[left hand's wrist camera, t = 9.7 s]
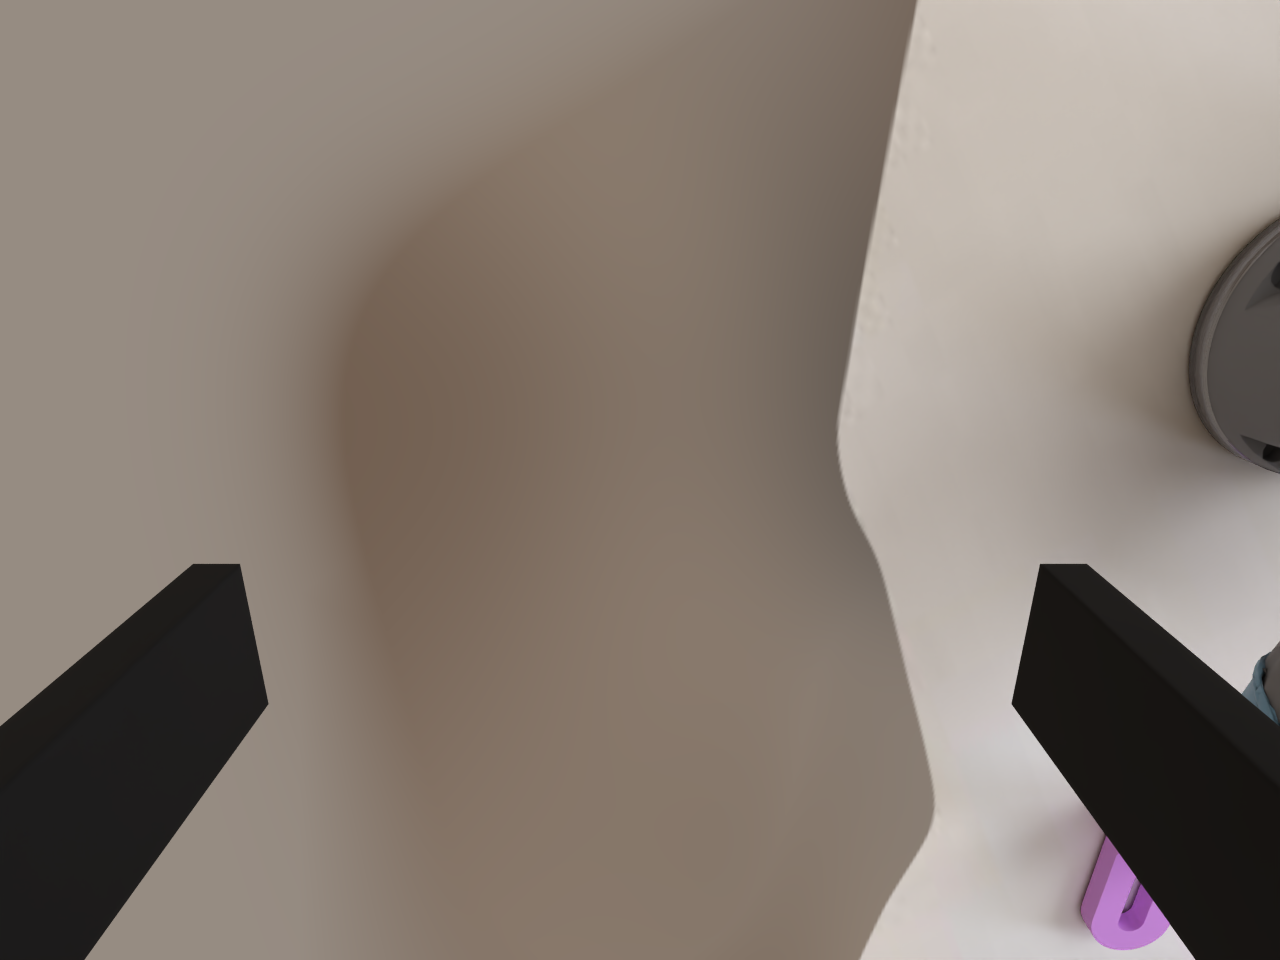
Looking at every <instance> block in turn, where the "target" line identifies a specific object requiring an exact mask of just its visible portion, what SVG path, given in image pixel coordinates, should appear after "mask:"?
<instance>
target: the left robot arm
mask: <svg viewBox="0 0 1280 960" xmlns="http://www.w3.org/2000/svg"><path fill="white" fill-rule="evenodd" d="M1189 377H1190V387H1191V393H1192V397H1193V401H1194V404H1195V407H1196V410H1197V412H1198V414H1199V417H1200V418H1201V420H1202V422H1203V424H1204V425H1205V427H1206V428H1207V430H1208V431H1209V432H1210V434H1211V435H1212V436H1213V437H1214V438H1215V439H1216V440H1217V441H1218V442H1219V443H1220V444H1221V445H1222V446H1224V447H1225V448H1226V449H1227V450H1229V451H1230V452H1232V453H1233V454H1235V455H1237V456H1238V457H1240V458H1243V459H1245V460H1247V461H1249V462H1252V463H1254V464H1256V465H1258V466H1260V467H1263V468H1265V469H1267V470H1270V471H1273V472H1276V473H1280V219H1279V220H1277V221H1276V222H1274V223H1273V224H1271V225H1270V226H1269V227H1268V228H1266V229H1265V230H1264V231H1263V232H1261V233H1260V234H1259V235H1258V236H1257V237H1256V238H1255V239H1254V240H1252V241H1251V242H1250V243H1249V244H1248V245H1247V246H1246V247H1245V248H1244V249H1243V250H1242V251H1241V253H1240V254H1239V255H1238V256H1237V257H1236V258H1235V259H1234V260H1233V262H1232V263H1231V264H1230V265H1229V267H1228V268H1227V269H1226V270H1225V272H1224V273H1223V275H1222V276H1221V278H1220V279H1219V281H1218V282H1217V284H1216V285H1215V287H1214V289H1213V290H1212V292H1211V294H1210V296H1209V297H1208V299H1207V301H1206V304H1205V306H1204V308H1203V310H1202V312H1201V315H1200V317H1199V320H1198V323H1197V326H1196V329H1195V333H1194V337H1193V340H1192V346H1191V352H1190V363H1189ZM267 705H268V699H267V694H266V689H265V685H264V680H263V675H262V670H261V665H260V660H259V655H258V650H257V646H256V641H255V636H254V631H253V626H252V621H251V616H250V611H249V606H248V602H247V597H246V592H245V587H244V582H243V577H242V572H241V567H240V564H193V565H191V566H190V567H189V568H188V569H187V570H185V571H184V572H183V573H182V574H181V575H180V576H178V577H177V578H176V579H175V580H174V581H172V582H171V583H170V584H169V585H168V586H166V587H165V588H164V589H163V590H162V591H161V592H159V593H158V594H157V595H156V596H155V597H153V598H152V599H151V600H150V601H149V602H147V603H146V604H145V605H144V606H143V607H142V608H140V609H139V610H138V611H137V612H136V613H134V614H133V615H132V616H131V617H130V618H128V619H127V620H126V621H125V622H124V623H122V624H121V625H120V626H119V627H118V628H117V629H115V630H114V631H113V632H112V633H111V634H109V635H108V636H107V637H106V638H105V639H103V640H102V641H101V642H100V643H99V644H98V645H96V646H95V647H94V648H93V649H92V650H90V651H89V652H88V653H87V654H86V655H84V656H83V657H82V658H81V659H80V660H79V661H77V662H76V663H75V664H74V665H73V666H71V667H70V668H69V669H68V670H67V671H65V672H64V673H63V674H62V675H61V676H59V677H58V678H57V679H56V680H55V681H54V682H52V683H51V684H50V685H49V686H48V687H46V688H45V689H44V690H43V691H42V692H40V693H39V694H38V695H37V696H36V697H35V698H33V699H32V700H31V701H30V702H29V703H27V704H26V705H25V706H24V707H23V708H21V709H20V710H19V711H18V712H17V713H16V714H14V715H13V716H12V717H11V718H10V719H8V720H7V721H6V722H5V723H4V724H3V725H1V726H0V960H85V958H86V957H87V955H88V954H89V953H90V951H91V950H92V948H93V947H94V946H95V944H96V943H97V941H98V940H99V939H100V937H101V936H102V935H103V933H104V932H105V930H106V929H107V928H108V926H109V925H110V923H111V922H112V921H113V919H114V918H115V916H116V915H117V914H118V912H119V911H120V910H121V908H122V907H123V905H124V904H125V903H126V901H127V900H128V898H129V897H130V896H131V894H132V893H133V891H134V890H135V889H136V887H137V886H138V884H139V883H140V882H141V880H142V879H143V878H144V876H145V875H146V873H147V872H148V871H149V869H150V868H151V866H152V865H153V864H154V862H155V861H156V859H157V858H158V857H159V855H160V854H161V853H162V851H163V850H164V848H165V847H166V846H167V844H168V843H169V841H170V840H171V839H172V837H173V836H174V834H175V833H176V832H177V830H178V829H179V827H180V826H181V825H182V823H183V822H184V821H185V819H186V818H187V816H188V815H189V814H190V812H191V811H192V809H193V808H194V807H195V805H196V804H197V803H198V801H199V800H200V798H201V797H202V796H203V794H204V793H205V791H206V790H207V789H208V787H209V786H210V785H211V783H212V782H213V780H214V779H215V778H216V776H217V775H218V773H219V772H220V771H221V769H222V768H223V766H224V765H225V764H226V762H227V761H228V760H229V758H230V757H231V755H232V754H233V753H234V751H235V750H236V748H237V747H238V746H239V744H240V743H241V741H242V740H243V739H244V737H245V736H246V734H247V733H248V732H249V730H250V729H251V728H252V726H253V725H254V723H255V722H256V721H257V719H258V718H259V716H260V715H261V714H262V712H263V711H264V709H265V708H266V707H267ZM1012 705H1013V707H1014V708H1015V709H1016V711H1017V712H1018V714H1019V715H1020V716H1021V718H1022V719H1023V721H1024V722H1025V723H1026V725H1027V726H1028V728H1029V729H1030V730H1031V732H1032V733H1033V734H1034V736H1035V737H1036V739H1037V740H1038V741H1039V743H1040V744H1041V746H1042V747H1043V748H1044V750H1045V751H1046V753H1047V754H1048V755H1049V757H1050V758H1051V760H1052V761H1053V762H1054V764H1055V765H1056V766H1057V768H1058V769H1059V771H1060V772H1061V773H1062V775H1063V776H1064V778H1065V779H1066V780H1067V782H1068V783H1069V785H1070V786H1071V787H1072V789H1073V790H1074V791H1075V793H1076V794H1077V796H1078V797H1079V798H1080V800H1081V801H1082V803H1083V804H1084V805H1085V807H1086V808H1087V810H1088V811H1089V812H1090V814H1091V815H1092V816H1093V818H1094V819H1095V821H1096V822H1097V823H1098V825H1099V826H1100V828H1101V829H1102V830H1103V832H1104V833H1105V835H1106V836H1107V837H1108V839H1109V840H1110V841H1111V843H1112V844H1113V846H1114V847H1115V848H1116V850H1117V851H1118V853H1119V854H1120V855H1121V857H1122V858H1123V860H1124V861H1125V862H1126V864H1127V865H1128V866H1129V868H1130V869H1131V871H1132V872H1133V873H1134V875H1135V876H1136V878H1137V879H1138V880H1139V882H1140V883H1141V885H1142V886H1143V887H1144V889H1145V890H1146V891H1147V893H1148V894H1149V896H1150V897H1151V898H1152V900H1153V901H1154V903H1155V904H1156V905H1157V907H1158V908H1159V910H1160V911H1161V912H1162V914H1163V915H1164V916H1165V918H1166V919H1167V921H1168V922H1169V923H1170V925H1171V926H1172V928H1173V929H1174V930H1175V932H1176V933H1177V935H1178V936H1179V937H1180V939H1181V940H1182V941H1183V943H1184V944H1185V946H1186V947H1187V948H1188V950H1189V951H1190V953H1191V954H1192V955H1193V957H1194V958H1195V960H1280V642H1279V643H1278V644H1277V645H1276V647H1275V648H1274V649H1273V650H1272V652H1269V653H1268V654H1266V655H1264V656H1262V657H1261V659H1260V660H1259V661H1258V662H1257V664H1256V666H1255V668H1254V672H1253V679H1252V680H1251V682H1250V683H1249V684H1248V686H1247V687H1246V689H1245V690H1244V691H1243V693H1242V694H1241V693H1240V692H1238V691H1237V690H1236V689H1235V688H1234V687H1232V686H1231V685H1230V684H1229V683H1228V682H1226V681H1225V680H1224V679H1223V678H1222V677H1221V676H1219V675H1218V674H1217V673H1216V672H1215V671H1213V670H1212V669H1211V668H1210V667H1209V666H1207V665H1206V664H1205V663H1204V662H1203V661H1201V660H1200V659H1199V658H1198V657H1197V656H1196V655H1194V654H1193V653H1192V652H1191V651H1190V650H1188V649H1187V648H1186V647H1185V646H1184V645H1182V644H1181V643H1180V642H1179V641H1178V640H1177V639H1175V638H1174V637H1173V636H1172V635H1171V634H1169V633H1168V632H1167V631H1166V630H1165V629H1163V628H1162V627H1161V626H1160V625H1159V624H1158V623H1156V622H1155V621H1154V620H1153V619H1152V618H1150V617H1149V616H1148V615H1147V614H1146V613H1144V612H1143V611H1142V610H1141V609H1140V608H1139V607H1137V606H1136V605H1135V604H1134V603H1133V602H1131V601H1130V600H1129V599H1128V598H1127V597H1125V596H1124V595H1123V594H1122V593H1121V592H1120V591H1118V590H1117V589H1116V588H1115V587H1114V586H1112V585H1111V584H1110V583H1109V582H1108V581H1106V580H1105V579H1104V578H1103V577H1102V576H1101V575H1099V574H1098V573H1097V572H1096V571H1095V570H1093V569H1092V568H1091V567H1090V566H1089V565H1087V564H1040V567H1039V572H1038V577H1037V582H1036V587H1035V592H1034V596H1033V601H1032V606H1031V611H1030V616H1029V621H1028V626H1027V631H1026V636H1025V641H1024V645H1023V650H1022V655H1021V660H1020V665H1019V670H1018V675H1017V680H1016V685H1015V689H1014V694H1013V699H1012Z"/></svg>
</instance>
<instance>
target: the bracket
mask: <svg viewBox="0 0 1280 960" xmlns="http://www.w3.org/2000/svg"><path fill="white" fill-rule="evenodd" d="M1135 879H1136V876H1135V875H1134V873H1133V872H1132V871H1131V869H1130V868H1129V866H1128V865H1127V864H1126V862H1125V861H1124V860H1123V858H1122V857H1121V855H1120V854H1119V853H1118V851H1117V850H1116V848H1115V847H1114V846H1113V844H1112V843H1111V841H1110V840H1109V839H1108V837H1107V836H1106V838H1105V841H1104V844H1103V846H1102V849H1101V852H1100V855H1099V858H1098V860H1097V863H1096V866H1095V869H1094V872H1093V874H1092V877H1091V880H1090V883H1089V885H1088V888H1087V891H1086V894H1085V897H1084V899H1083V902H1082V906H1081V915H1082V918H1083V920H1084V921H1085V923H1086V925H1087V926H1088V928H1089V930H1090V931H1091V933H1092V935H1093V936H1094V938H1095V939H1096V940H1097V941H1098V942H1099V943H1100V944H1101V945H1103V946H1105V947H1108V948H1111V949H1116V950H1130V949H1136V948H1139V947H1142V946H1145V945H1148V944H1150V943H1151V942H1153V941H1155V940H1156V939H1158V938H1159V937H1160V936H1161V935H1162V934H1163V933H1164V932H1165V931H1166V930H1167V928H1168V927H1169V925H1170V923H1169V922H1168V921H1167V919H1166V918H1165V916H1164V915H1163V914H1162V912H1161V911H1160V910H1159V908H1158V907H1157V905H1156V904H1155V903H1154V901H1153V900H1152V898H1151V897H1150V896H1149V894H1148V893H1147V891H1146V890H1145V889H1144V887H1143V886H1142V885H1140V888H1139V890H1138V893H1137V895H1136V898H1135V900H1134V903H1133V906H1132V907H1131V909H1130V910H1128V911H1127V912H1125V913H1122V911H1123V908H1124V906H1125V903H1126V901H1127V898H1128V895H1129V893H1130V890H1131V888H1132V885H1133V882H1134V880H1135Z"/></svg>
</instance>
